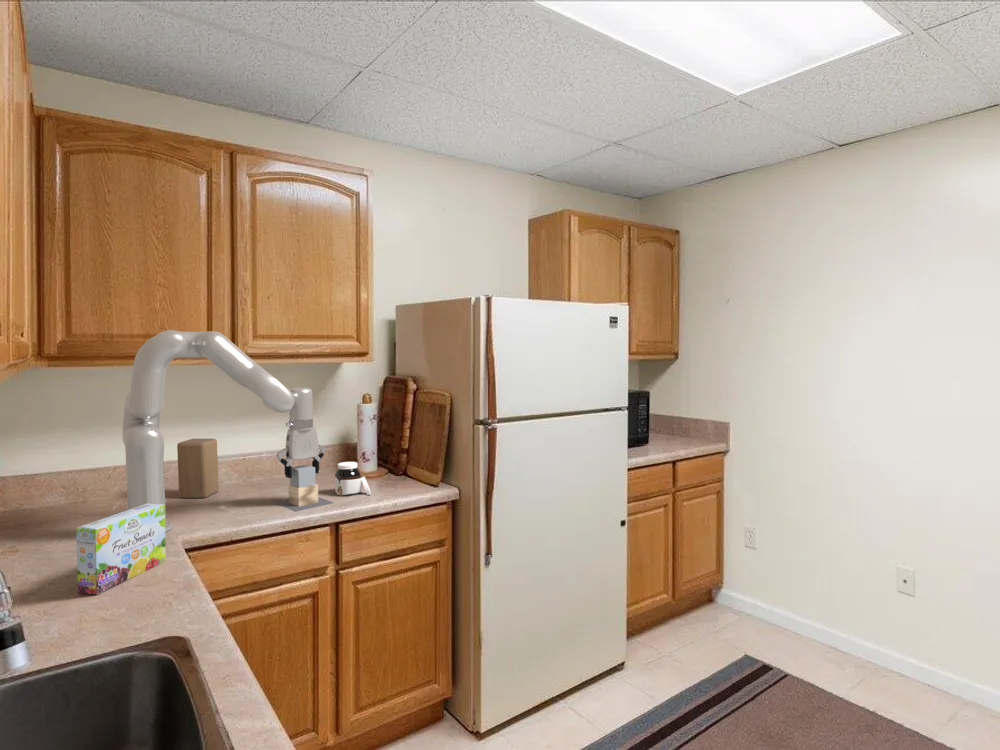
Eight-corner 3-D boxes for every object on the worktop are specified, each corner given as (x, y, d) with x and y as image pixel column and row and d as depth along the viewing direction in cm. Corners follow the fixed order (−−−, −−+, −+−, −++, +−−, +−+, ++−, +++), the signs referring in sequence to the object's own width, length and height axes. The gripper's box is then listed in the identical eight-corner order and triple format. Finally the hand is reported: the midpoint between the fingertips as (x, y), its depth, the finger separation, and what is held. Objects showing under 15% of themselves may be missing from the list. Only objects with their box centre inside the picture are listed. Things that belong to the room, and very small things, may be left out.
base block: (298, 506, 199) (298, 488, 198) (288, 502, 204) (288, 485, 203) (318, 502, 204) (317, 484, 203) (308, 498, 209) (307, 481, 208)
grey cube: (299, 488, 199) (298, 470, 199) (290, 485, 203) (289, 467, 203) (315, 484, 203) (315, 467, 203) (306, 482, 208) (306, 464, 207)
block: (193, 491, 224) (191, 438, 223) (219, 491, 223) (217, 438, 222) (178, 498, 214) (175, 442, 213) (205, 498, 213) (203, 442, 212)
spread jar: (332, 495, 218) (331, 463, 217) (360, 489, 225) (359, 458, 224) (347, 501, 208) (346, 468, 208) (376, 495, 216) (375, 463, 215)
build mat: (295, 514, 193) (295, 511, 193) (272, 505, 204) (272, 502, 204) (334, 505, 203) (334, 502, 203) (310, 497, 214) (310, 494, 214)
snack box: (98, 596, 132) (95, 528, 131) (76, 594, 133) (73, 527, 132) (168, 561, 153) (165, 502, 152) (148, 560, 154) (145, 501, 153)
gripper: (281, 428, 193) (283, 481, 194) (330, 423, 206) (331, 472, 207) (271, 426, 199) (272, 477, 199) (319, 421, 211) (320, 469, 212)
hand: (302, 475), depth 203 cm, fingers open, 9 cm apart
